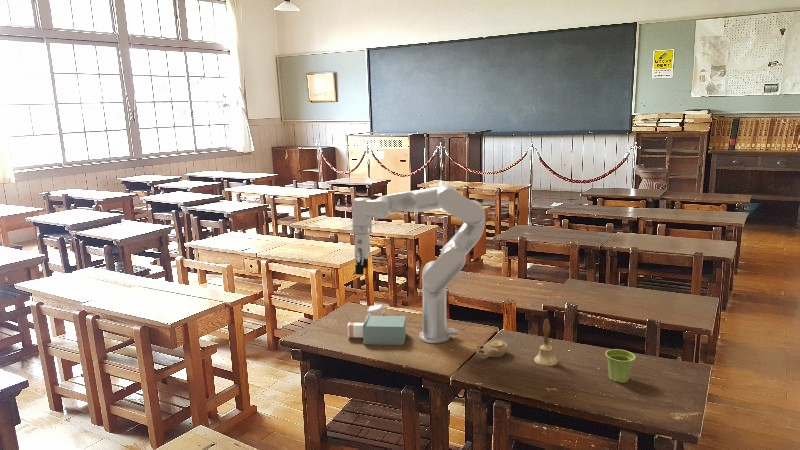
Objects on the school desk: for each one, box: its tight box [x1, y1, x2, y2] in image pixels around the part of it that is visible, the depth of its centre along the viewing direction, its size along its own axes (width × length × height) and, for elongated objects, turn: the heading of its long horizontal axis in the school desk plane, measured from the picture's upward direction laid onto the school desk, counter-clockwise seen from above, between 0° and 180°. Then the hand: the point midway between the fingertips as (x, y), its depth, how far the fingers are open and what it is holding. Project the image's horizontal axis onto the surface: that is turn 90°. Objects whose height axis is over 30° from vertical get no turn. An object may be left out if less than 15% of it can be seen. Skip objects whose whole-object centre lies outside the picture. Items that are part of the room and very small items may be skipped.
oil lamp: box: [475, 339, 509, 359], centre depth 206 cm, size 11×14×5 cm
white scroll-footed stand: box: [364, 304, 387, 319], centre depth 247 cm, size 12×8×5 cm
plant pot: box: [604, 348, 636, 384], centre depth 186 cm, size 9×9×9 cm
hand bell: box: [533, 318, 558, 367], centre depth 200 cm, size 8×8×16 cm
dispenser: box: [362, 313, 407, 346], centre depth 224 cm, size 16×12×8 cm
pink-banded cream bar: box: [346, 322, 364, 338], centre depth 225 cm, size 13×3×5 cm, turn 85°
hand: (361, 271), depth 221 cm, fingers open, 9 cm apart
